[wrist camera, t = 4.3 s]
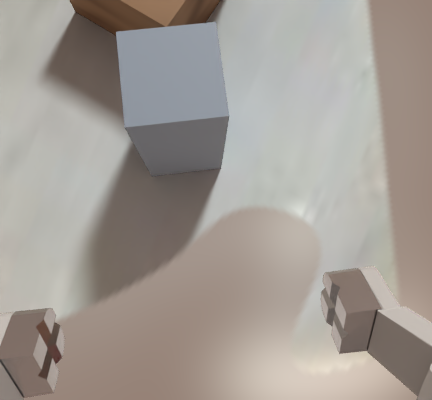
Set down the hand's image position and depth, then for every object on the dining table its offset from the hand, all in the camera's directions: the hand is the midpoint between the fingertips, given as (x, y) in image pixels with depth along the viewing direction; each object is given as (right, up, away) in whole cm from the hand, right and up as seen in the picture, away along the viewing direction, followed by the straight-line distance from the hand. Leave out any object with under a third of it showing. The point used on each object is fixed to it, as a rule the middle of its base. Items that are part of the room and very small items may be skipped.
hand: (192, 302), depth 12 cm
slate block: (-2, +7, +14) cm, 16 cm away
